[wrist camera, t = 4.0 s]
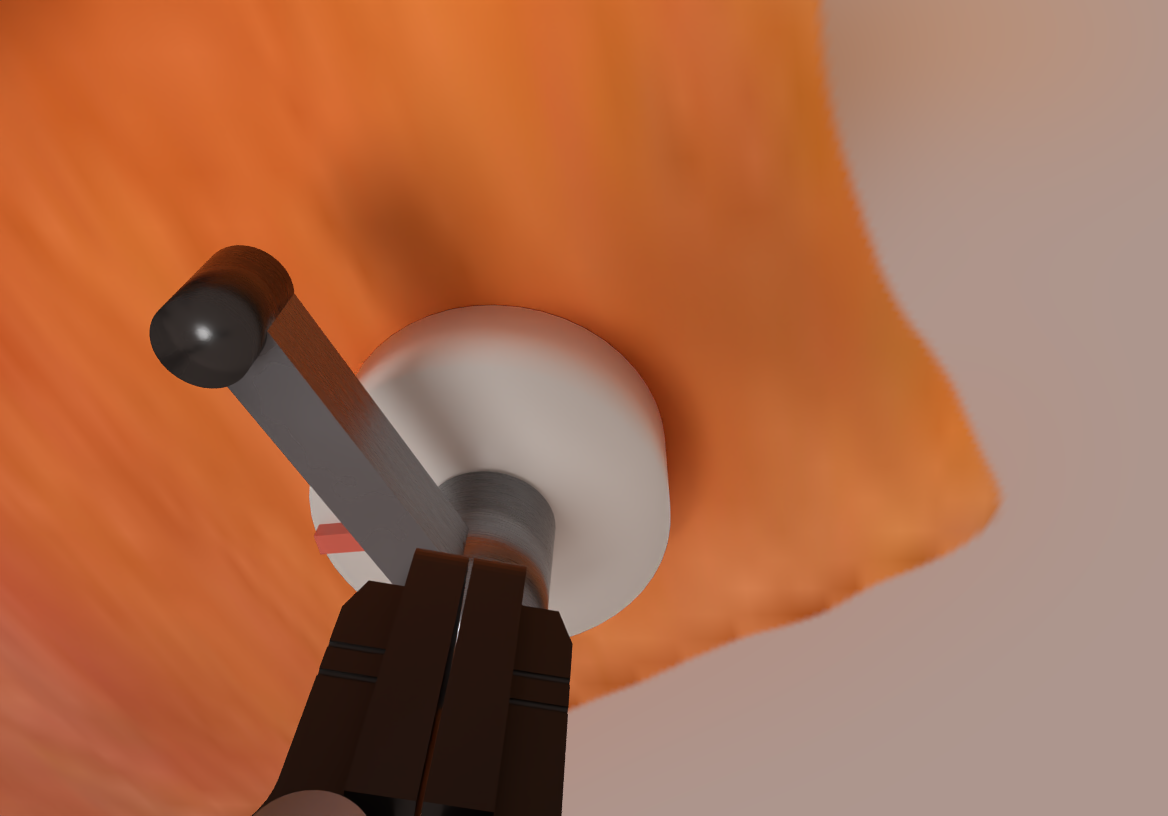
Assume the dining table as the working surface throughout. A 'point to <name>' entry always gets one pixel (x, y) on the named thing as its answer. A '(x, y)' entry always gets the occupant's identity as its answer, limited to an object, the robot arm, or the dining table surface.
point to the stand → (529, 443)
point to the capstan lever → (341, 426)
